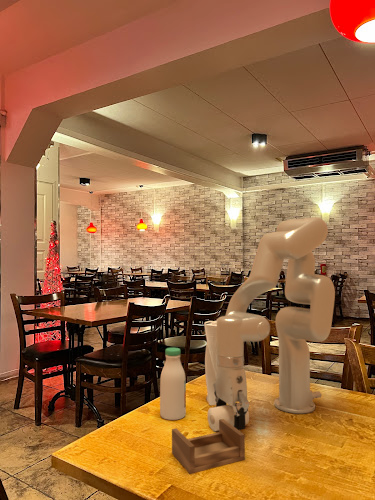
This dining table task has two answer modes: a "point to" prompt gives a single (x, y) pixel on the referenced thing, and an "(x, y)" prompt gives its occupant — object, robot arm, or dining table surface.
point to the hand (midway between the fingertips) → (230, 422)
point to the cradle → (209, 448)
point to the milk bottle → (172, 387)
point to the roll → (223, 416)
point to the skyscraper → (211, 359)
